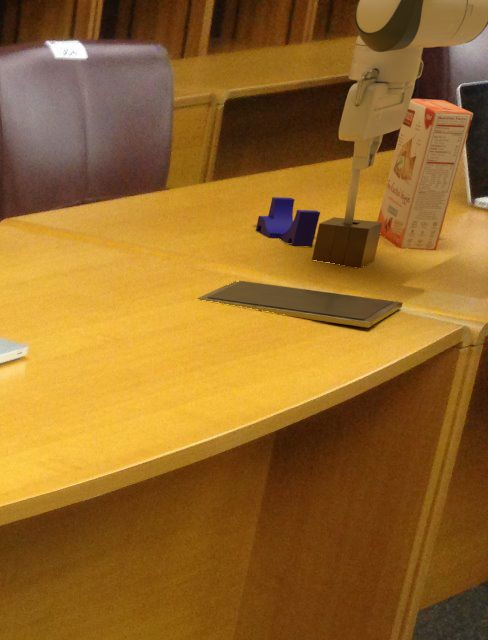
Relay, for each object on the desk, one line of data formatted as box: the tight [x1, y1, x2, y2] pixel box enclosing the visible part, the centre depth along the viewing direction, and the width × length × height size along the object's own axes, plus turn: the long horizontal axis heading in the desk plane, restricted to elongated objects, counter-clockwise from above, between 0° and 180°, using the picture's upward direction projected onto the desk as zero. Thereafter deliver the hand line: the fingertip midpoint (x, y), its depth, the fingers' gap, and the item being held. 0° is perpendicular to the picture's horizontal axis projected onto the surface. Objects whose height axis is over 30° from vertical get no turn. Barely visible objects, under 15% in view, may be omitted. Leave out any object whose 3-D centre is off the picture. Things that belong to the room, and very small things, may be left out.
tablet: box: [197, 280, 403, 329], centre depth 205 cm, size 22×15×1 cm
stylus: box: [344, 154, 361, 224], centre depth 226 cm, size 1×1×14 cm
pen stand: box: [311, 216, 382, 269], centre depth 229 cm, size 7×7×6 cm
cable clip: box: [255, 196, 321, 247], centre depth 243 cm, size 12×4×6 cm, turn 178°
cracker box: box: [376, 98, 474, 251], centre depth 240 cm, size 14×6×21 cm, turn 170°
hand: (362, 168), depth 224 cm, fingers closed on stylus, 1 cm apart
